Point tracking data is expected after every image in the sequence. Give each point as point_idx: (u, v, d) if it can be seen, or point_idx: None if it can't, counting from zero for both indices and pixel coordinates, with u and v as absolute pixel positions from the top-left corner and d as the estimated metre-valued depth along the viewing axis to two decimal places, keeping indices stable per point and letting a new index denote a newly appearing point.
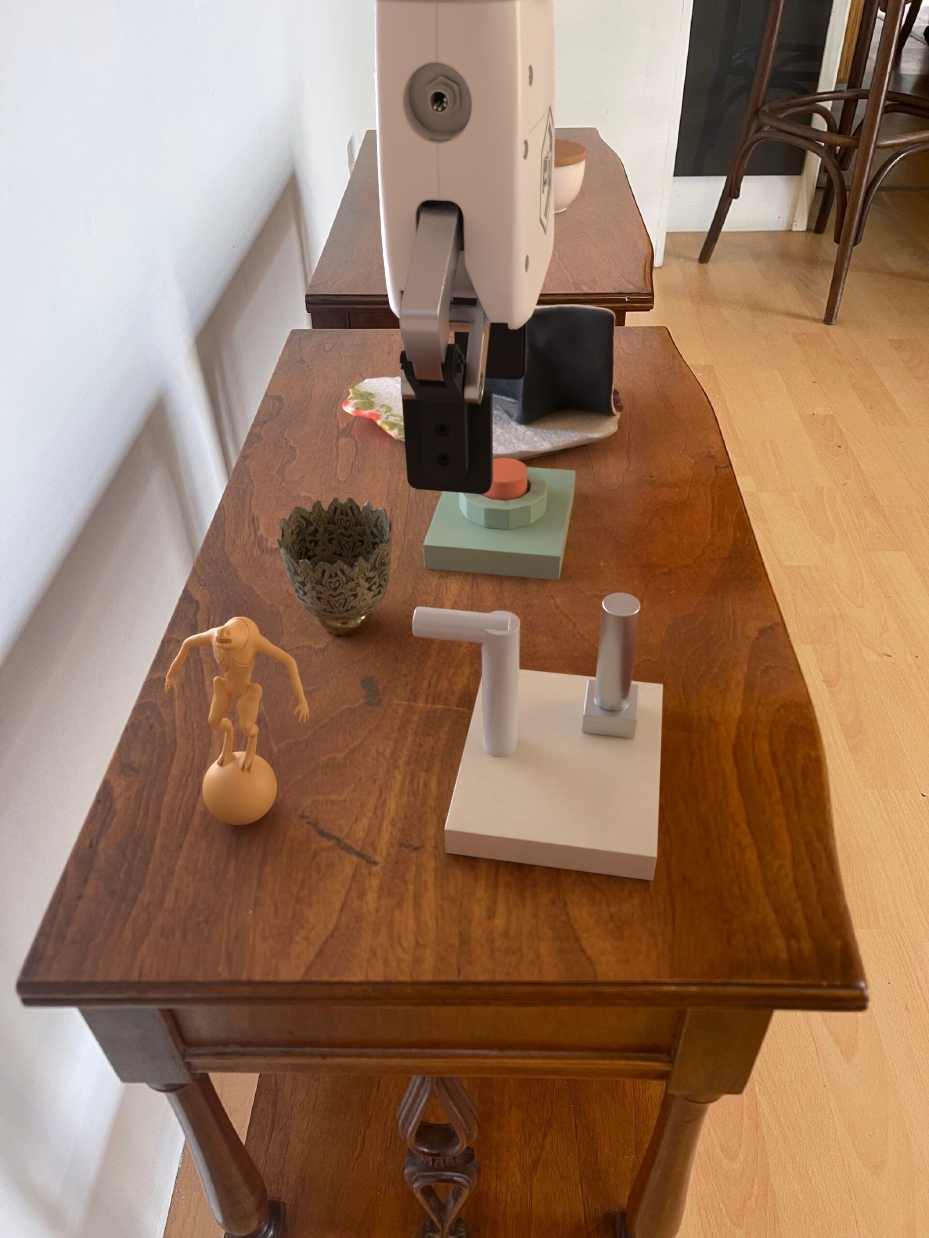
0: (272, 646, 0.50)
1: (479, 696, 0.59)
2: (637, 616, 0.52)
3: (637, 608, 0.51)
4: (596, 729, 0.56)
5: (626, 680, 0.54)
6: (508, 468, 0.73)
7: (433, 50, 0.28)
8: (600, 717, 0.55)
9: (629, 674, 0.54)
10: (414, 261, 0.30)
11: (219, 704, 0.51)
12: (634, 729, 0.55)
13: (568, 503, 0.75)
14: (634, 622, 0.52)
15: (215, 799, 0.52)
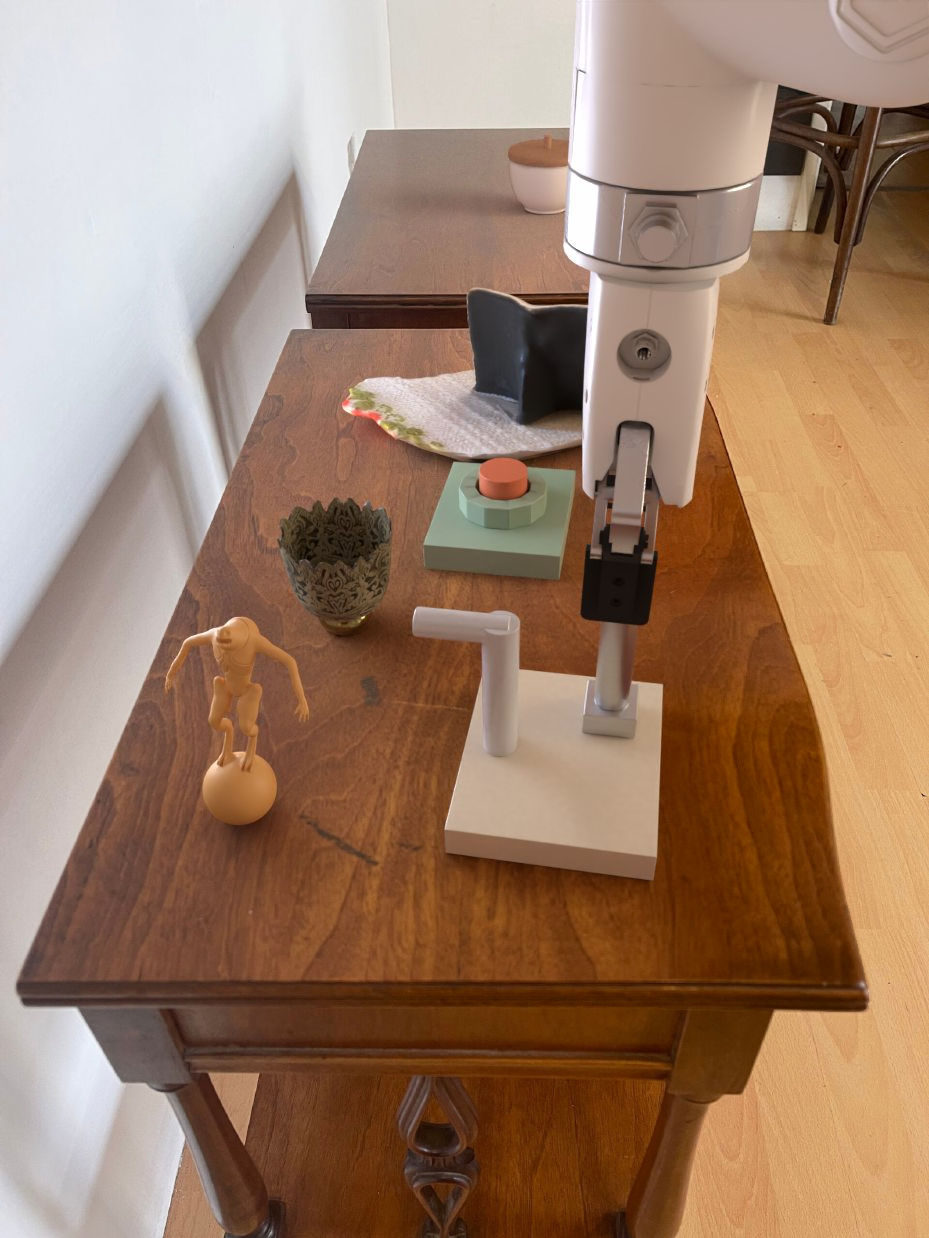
0: (272, 646, 0.50)
1: (479, 696, 0.59)
2: None
3: None
4: (596, 729, 0.56)
5: (626, 680, 0.54)
6: (508, 468, 0.73)
7: (645, 320, 0.37)
8: (600, 717, 0.55)
9: (629, 674, 0.54)
10: (619, 471, 0.39)
11: (219, 704, 0.51)
12: (634, 729, 0.55)
13: (568, 503, 0.75)
14: None
15: (215, 799, 0.52)
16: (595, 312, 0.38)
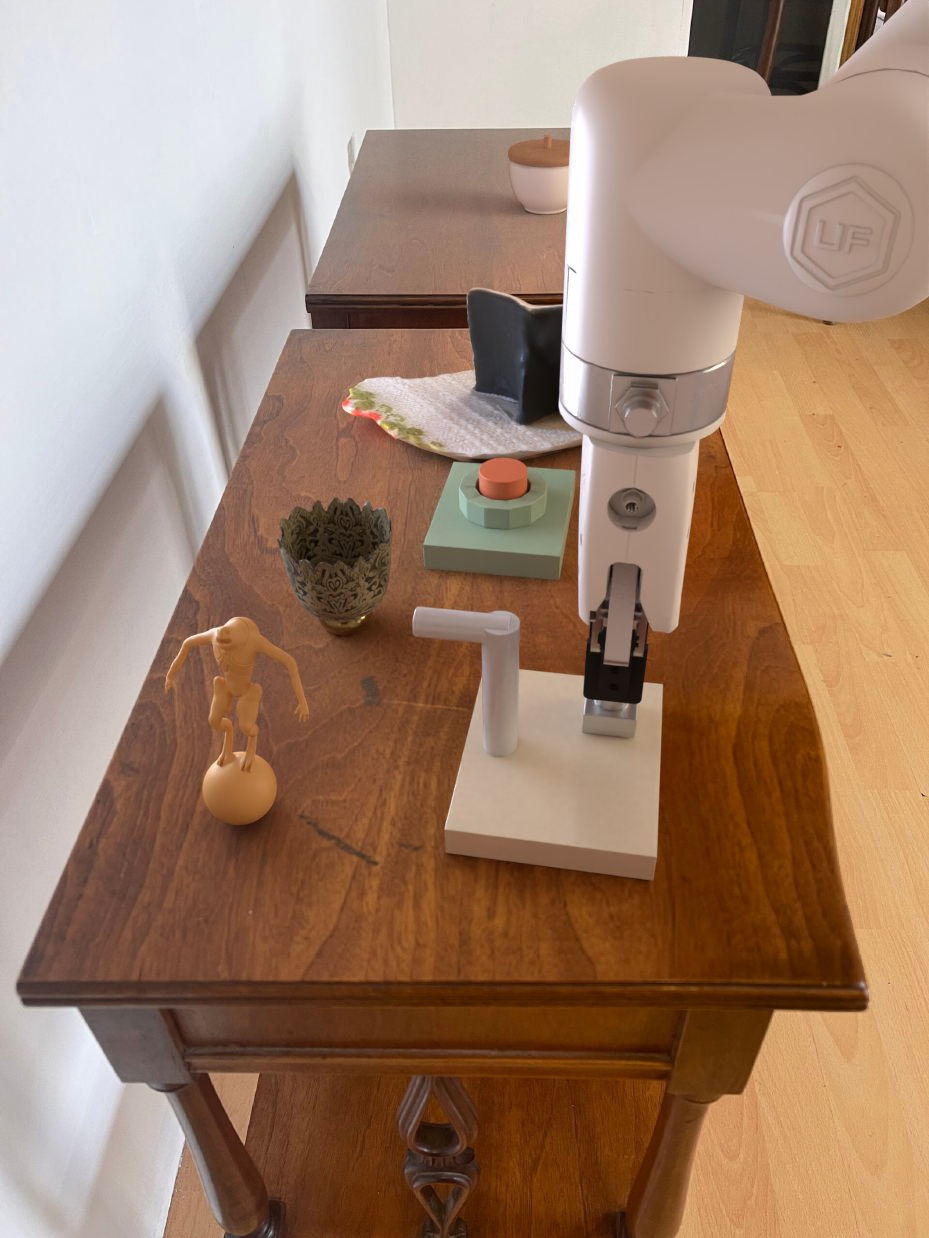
0: (272, 646, 0.50)
1: (479, 696, 0.59)
2: None
3: None
4: (596, 729, 0.56)
5: None
6: (508, 468, 0.73)
7: (632, 480, 0.42)
8: (600, 717, 0.55)
9: None
10: (610, 622, 0.46)
11: (219, 704, 0.51)
12: (634, 729, 0.55)
13: (568, 503, 0.75)
14: (634, 622, 0.52)
15: (215, 799, 0.52)
16: (587, 470, 0.43)
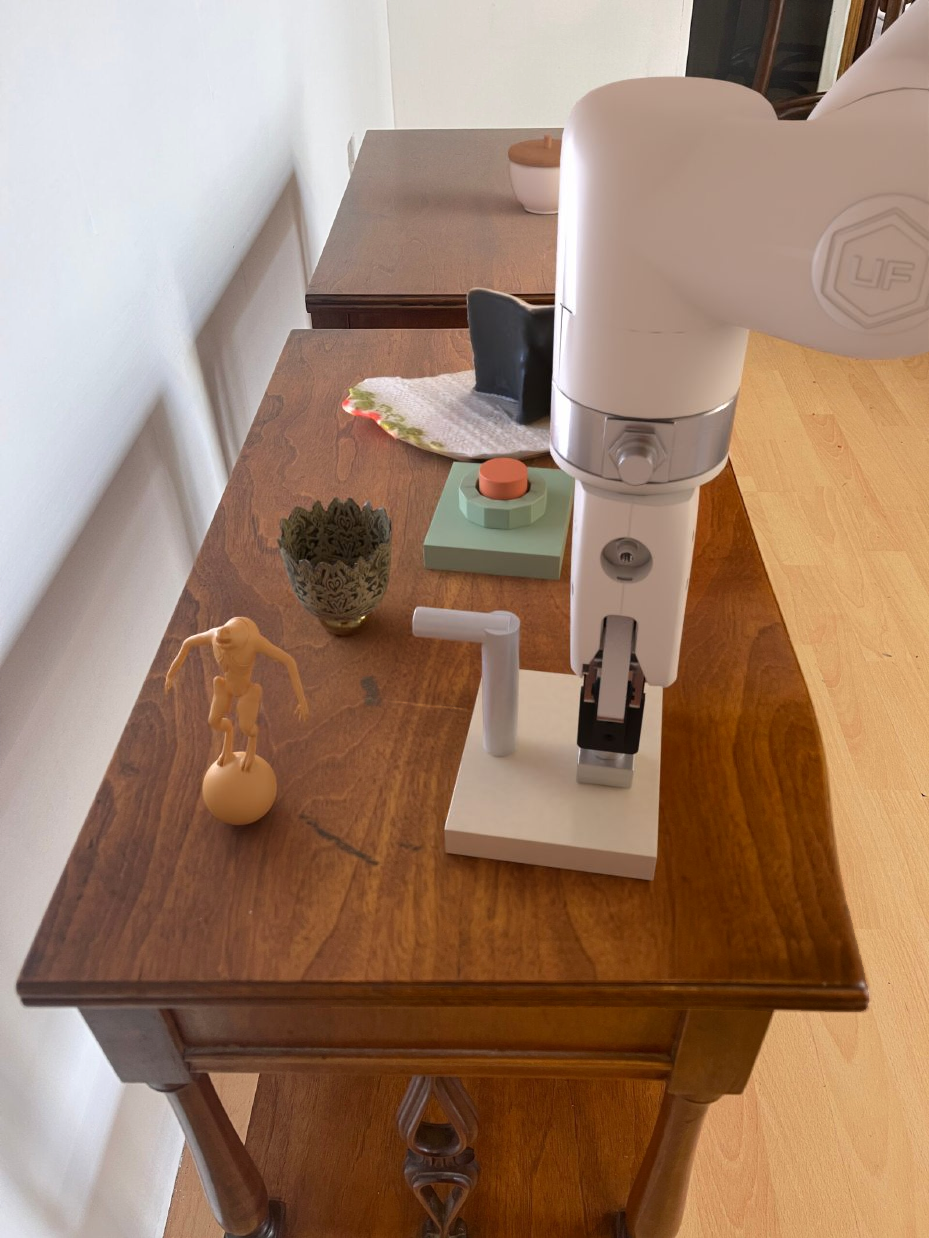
0: (272, 646, 0.50)
1: (479, 696, 0.59)
2: None
3: None
4: (591, 779, 0.53)
5: None
6: (508, 468, 0.73)
7: (626, 530, 0.39)
8: (595, 767, 0.52)
9: None
10: (604, 676, 0.43)
11: (219, 704, 0.51)
12: (631, 779, 0.53)
13: (568, 503, 0.75)
14: None
15: (215, 799, 0.52)
16: (579, 517, 0.40)
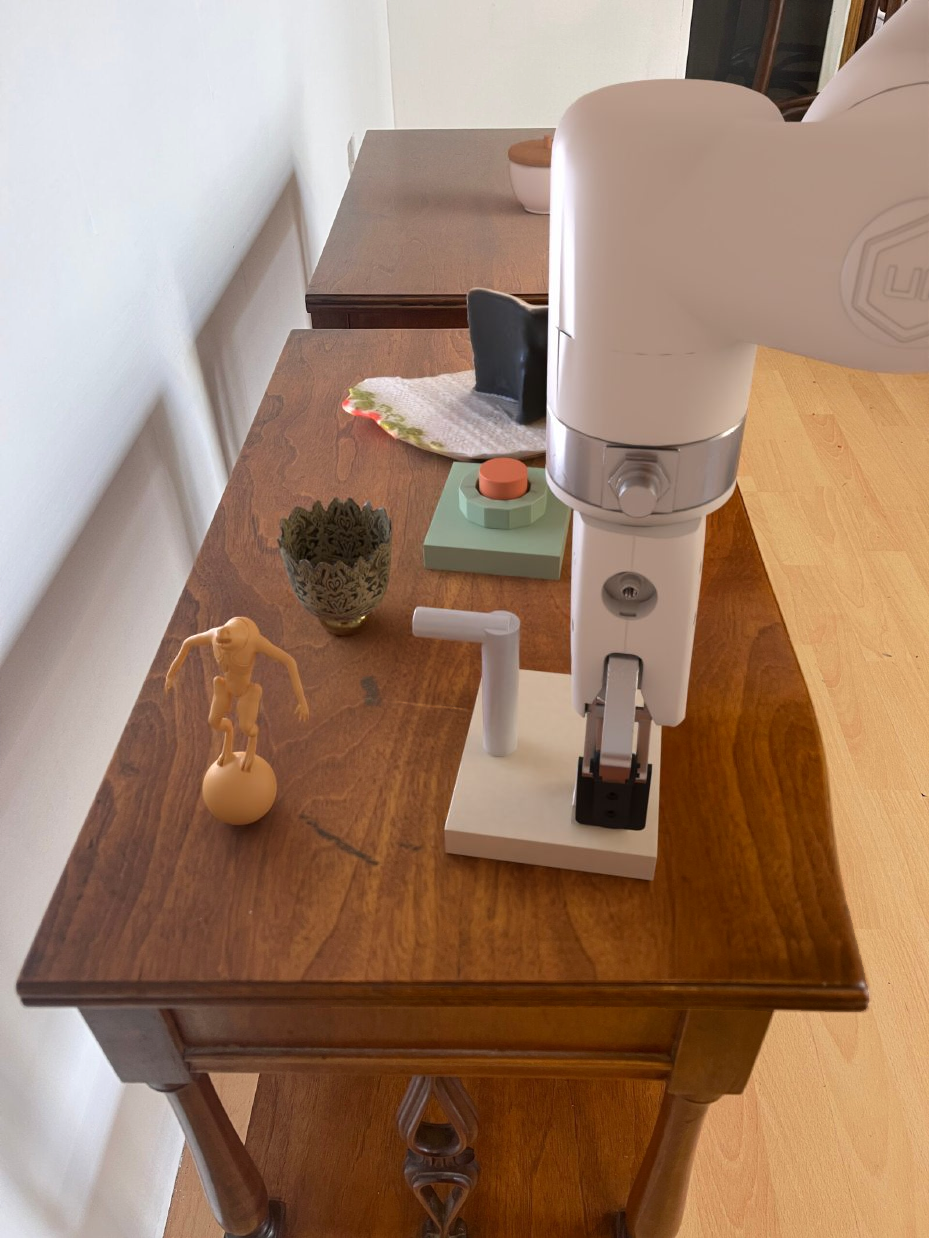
0: (272, 646, 0.50)
1: (479, 696, 0.59)
2: None
3: None
4: None
5: None
6: (508, 468, 0.73)
7: (629, 564, 0.36)
8: None
9: None
10: (608, 708, 0.38)
11: (219, 704, 0.51)
12: None
13: None
14: None
15: (215, 799, 0.52)
16: (578, 550, 0.37)
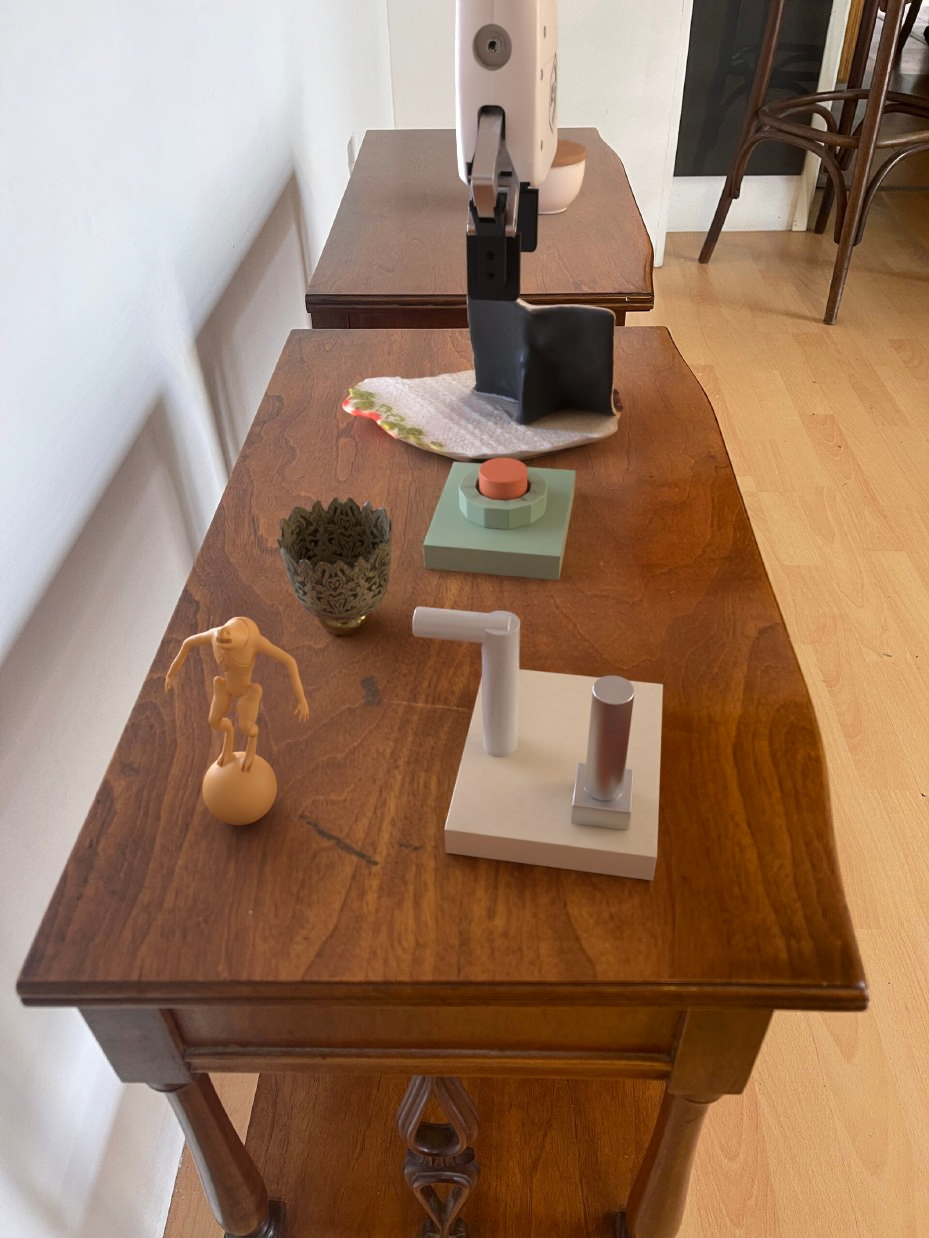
0: (272, 646, 0.50)
1: (479, 696, 0.59)
2: (631, 703, 0.47)
3: (631, 695, 0.46)
4: (587, 820, 0.51)
5: (620, 769, 0.49)
6: (508, 468, 0.73)
7: (490, 17, 0.51)
8: (591, 808, 0.50)
9: (623, 763, 0.49)
10: (478, 146, 0.53)
11: (219, 704, 0.51)
12: (628, 821, 0.50)
13: (568, 503, 0.75)
14: (628, 710, 0.47)
15: (215, 799, 0.52)
16: (456, 17, 0.52)
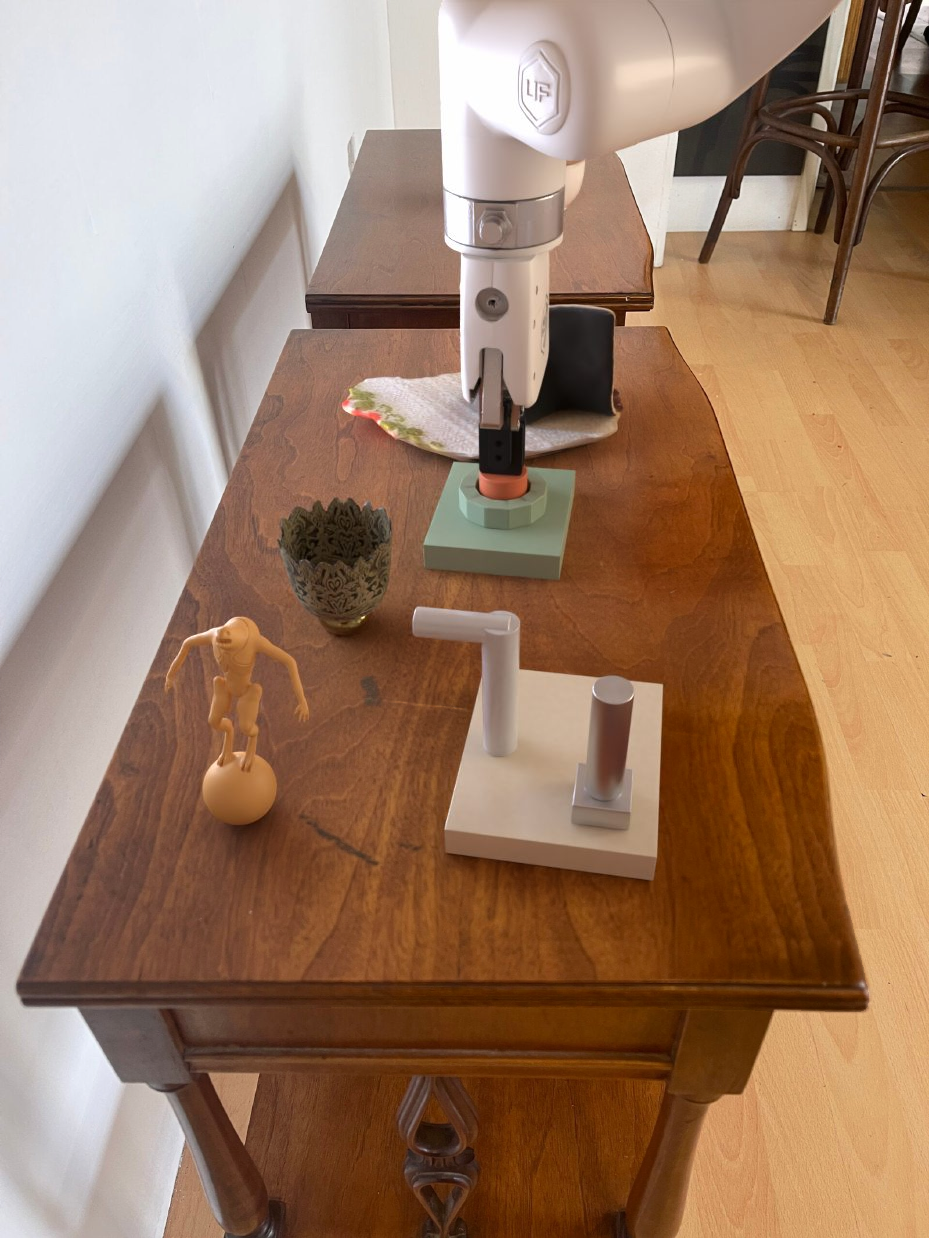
0: (272, 646, 0.50)
1: (479, 696, 0.59)
2: (631, 703, 0.47)
3: (631, 695, 0.46)
4: (587, 820, 0.51)
5: (620, 769, 0.49)
6: None
7: (490, 282, 0.59)
8: (591, 808, 0.50)
9: (623, 763, 0.49)
10: (484, 397, 0.64)
11: (219, 704, 0.51)
12: (628, 821, 0.50)
13: (568, 503, 0.75)
14: (628, 710, 0.47)
15: (215, 799, 0.52)
16: (461, 277, 0.60)
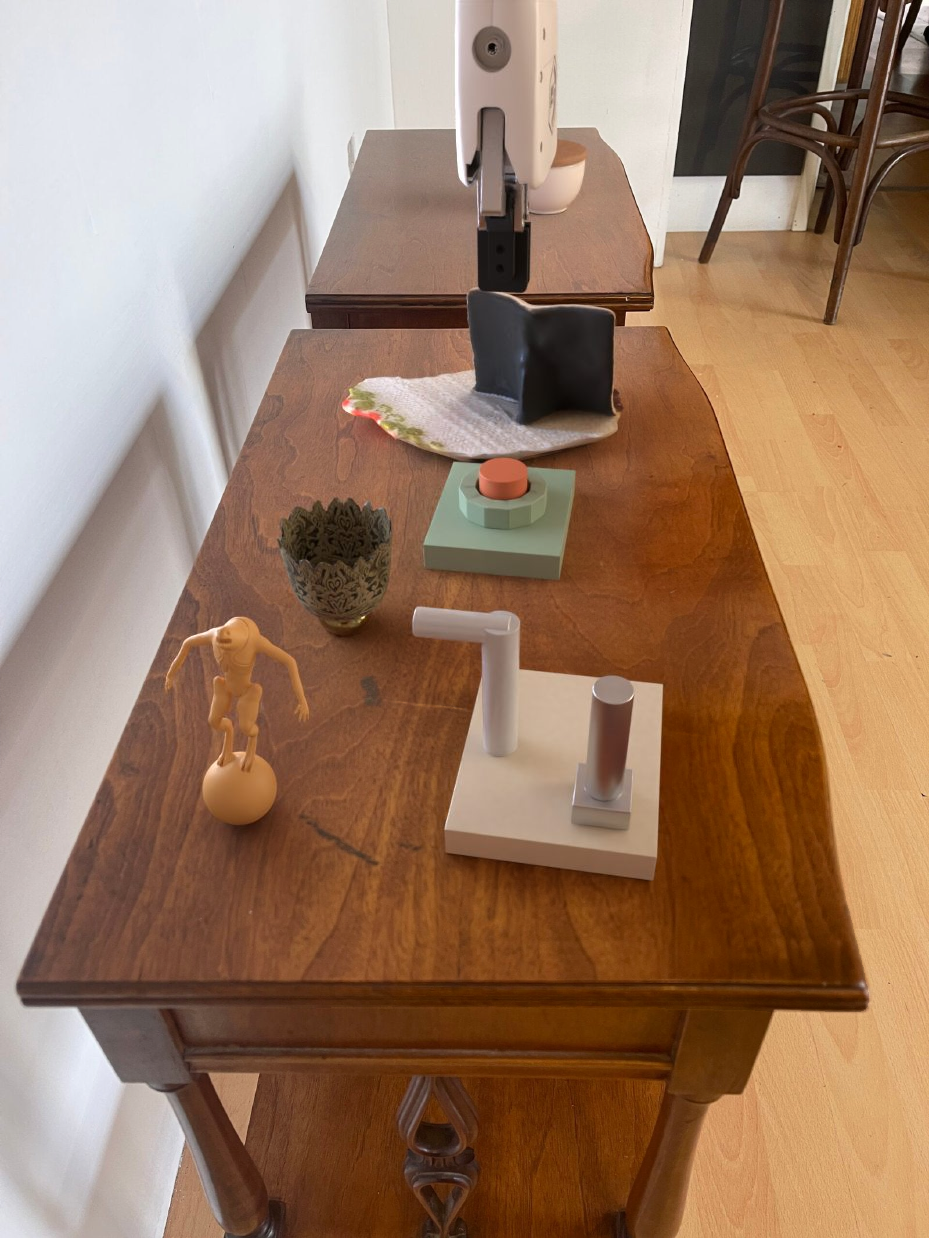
0: (272, 646, 0.50)
1: (479, 696, 0.59)
2: (631, 703, 0.47)
3: (631, 695, 0.46)
4: (587, 820, 0.51)
5: (620, 769, 0.49)
6: (508, 468, 0.73)
7: (490, 19, 0.51)
8: (591, 808, 0.50)
9: (623, 763, 0.49)
10: (483, 174, 0.55)
11: (219, 704, 0.51)
12: (628, 821, 0.50)
13: (568, 503, 0.75)
14: (628, 710, 0.47)
15: (215, 799, 0.52)
16: (456, 19, 0.52)
